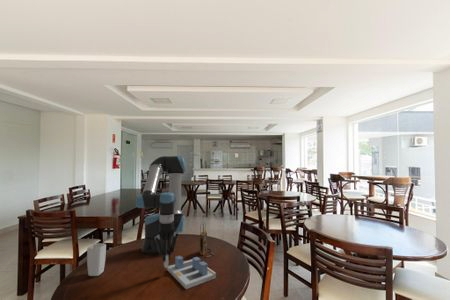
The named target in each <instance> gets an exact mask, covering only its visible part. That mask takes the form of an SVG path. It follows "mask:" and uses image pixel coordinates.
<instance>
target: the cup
mask: <svg viewBox="0 0 450 300" xmlns="http://www.w3.org/2000/svg"><path fill="white" fill-rule="evenodd" d="M86 250H87V252H86V261H87V264H86V265H87V275H88V276H89V277H99V276H100V275H102V274H103V272H104V270H105V264H106V257H107V256H106V255H107V254H106V253H107V252H106V251H107V244H106V243H94V244H92V245H89V246H88V247H87V248H86Z"/></svg>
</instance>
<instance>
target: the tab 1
mask: <svg viewBox="0 0 450 300" xmlns="http://www.w3.org/2000/svg"><path fill="white" fill-rule="evenodd" d="M174 259H175V260H174V264H175V266H176V267H177V268H178V269H179V268H183V262H184V257H183V256H182V255H177V256H175V258H174Z"/></svg>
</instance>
